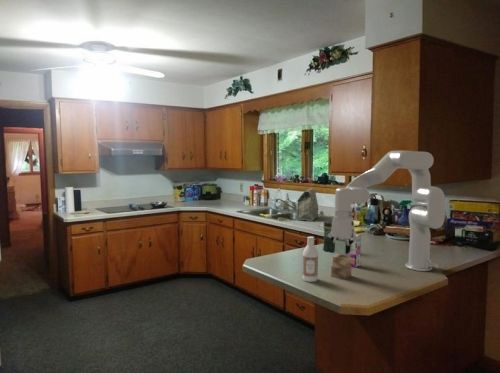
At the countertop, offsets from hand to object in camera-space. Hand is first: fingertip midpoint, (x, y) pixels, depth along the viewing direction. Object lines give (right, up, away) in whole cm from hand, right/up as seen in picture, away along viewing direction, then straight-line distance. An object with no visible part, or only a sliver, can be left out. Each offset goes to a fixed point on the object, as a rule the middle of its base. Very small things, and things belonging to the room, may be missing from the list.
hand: (342, 251), depth 174 cm
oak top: (0, -7, 0) cm, 7 cm away
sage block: (0, -1, 0) cm, 1 cm away
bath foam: (-16, -12, -4) cm, 21 cm away
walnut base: (0, -12, +1) cm, 12 cm away
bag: (+8, +1, +154) cm, 154 cm away
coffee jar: (+5, -8, +48) cm, 49 cm away
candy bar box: (+8, -10, +20) cm, 24 cm away
